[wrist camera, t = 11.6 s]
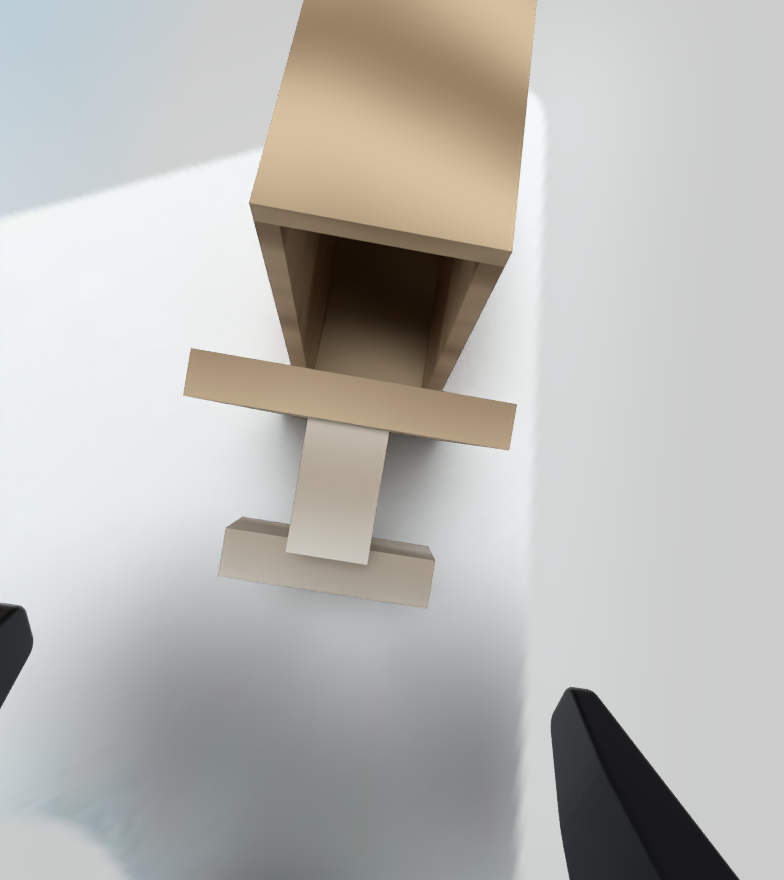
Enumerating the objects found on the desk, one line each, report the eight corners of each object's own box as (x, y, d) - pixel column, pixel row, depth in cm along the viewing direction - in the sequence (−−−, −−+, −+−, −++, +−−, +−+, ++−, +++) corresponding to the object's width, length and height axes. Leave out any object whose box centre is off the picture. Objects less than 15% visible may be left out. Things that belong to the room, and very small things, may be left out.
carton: (429, 414, 23) (512, 251, 12) (298, 391, 23) (248, 202, 11) (453, 245, 26) (539, -28, 14) (333, 223, 25) (323, -73, 14)
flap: (423, 534, 22) (476, 641, 11) (264, 509, 22) (151, 592, 11) (443, 417, 22) (517, 404, 11) (283, 390, 22) (190, 348, 11)
